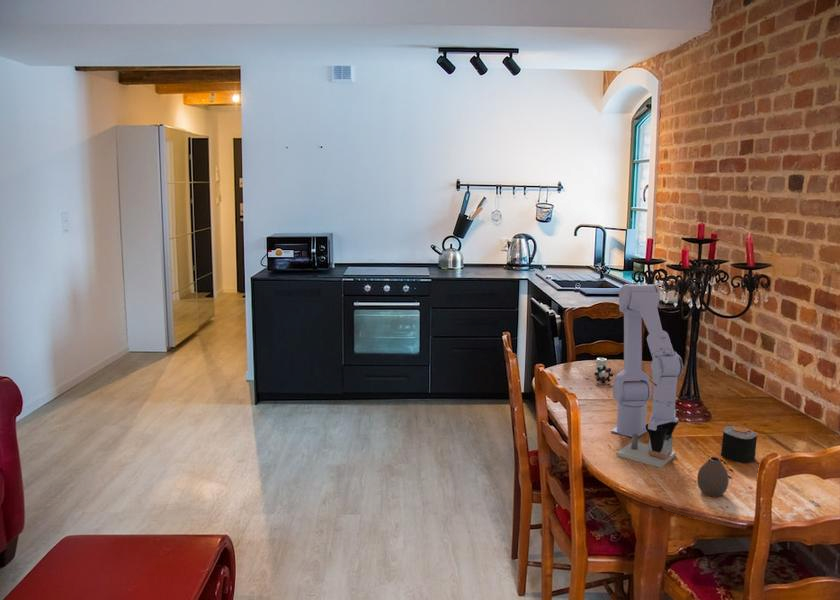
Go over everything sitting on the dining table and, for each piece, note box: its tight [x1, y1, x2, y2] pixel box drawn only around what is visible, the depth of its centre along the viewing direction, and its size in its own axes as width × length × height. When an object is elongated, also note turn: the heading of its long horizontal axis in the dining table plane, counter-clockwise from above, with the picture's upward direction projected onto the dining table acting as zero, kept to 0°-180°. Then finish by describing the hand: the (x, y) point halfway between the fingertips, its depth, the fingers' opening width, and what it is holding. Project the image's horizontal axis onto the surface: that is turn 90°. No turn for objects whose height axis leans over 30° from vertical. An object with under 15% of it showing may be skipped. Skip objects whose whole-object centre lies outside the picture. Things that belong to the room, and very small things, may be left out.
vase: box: [696, 456, 730, 498], centre depth 172 cm, size 7×7×9 cm
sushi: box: [720, 425, 758, 464], centre depth 194 cm, size 8×8×8 cm
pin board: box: [616, 434, 677, 468], centre depth 194 cm, size 11×12×5 cm
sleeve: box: [648, 435, 674, 459], centre depth 192 cm, size 5×5×5 cm
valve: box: [594, 357, 614, 384], centre depth 266 cm, size 7×7×12 cm
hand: (659, 448), depth 192 cm, fingers closed on sleeve, 4 cm apart
